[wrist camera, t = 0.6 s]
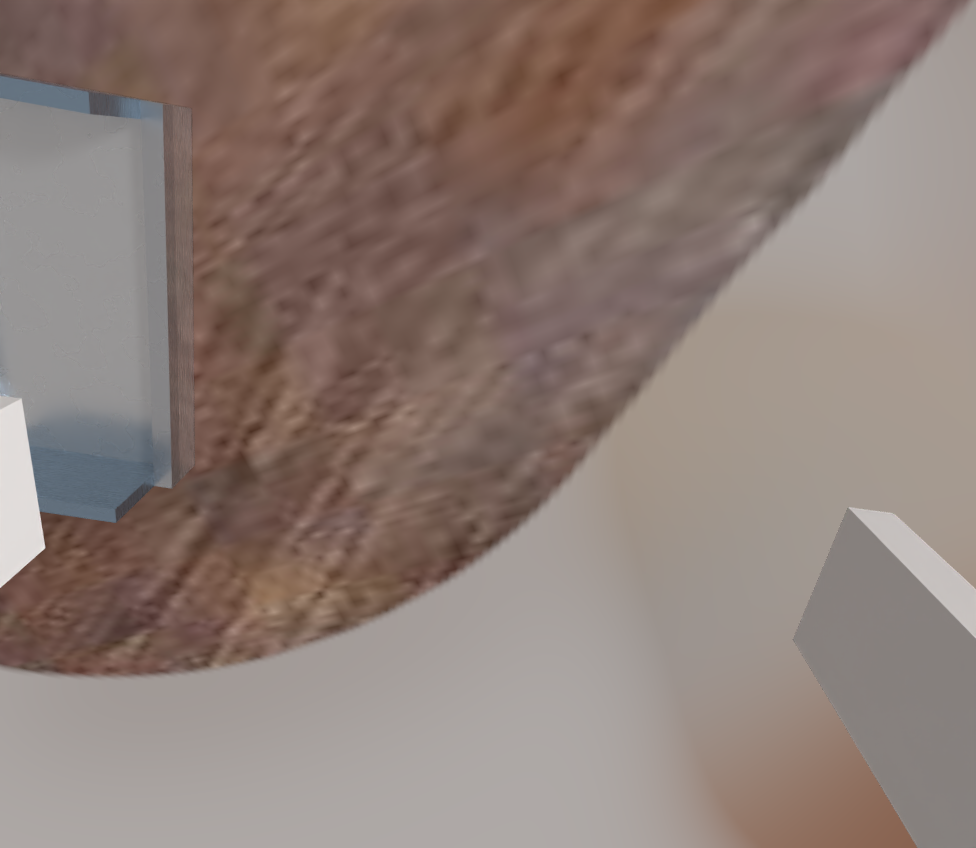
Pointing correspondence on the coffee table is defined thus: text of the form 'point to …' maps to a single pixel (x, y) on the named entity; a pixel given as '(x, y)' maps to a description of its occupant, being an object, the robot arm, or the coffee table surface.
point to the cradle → (97, 291)
